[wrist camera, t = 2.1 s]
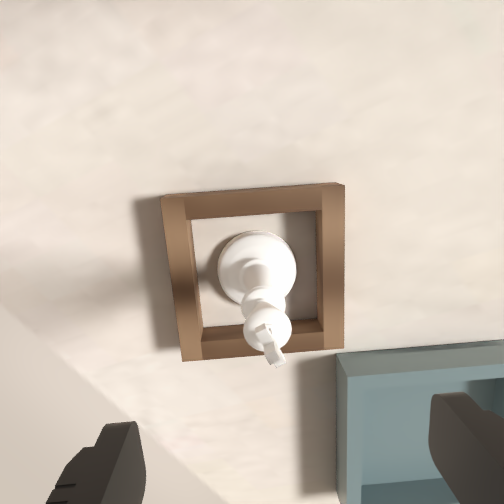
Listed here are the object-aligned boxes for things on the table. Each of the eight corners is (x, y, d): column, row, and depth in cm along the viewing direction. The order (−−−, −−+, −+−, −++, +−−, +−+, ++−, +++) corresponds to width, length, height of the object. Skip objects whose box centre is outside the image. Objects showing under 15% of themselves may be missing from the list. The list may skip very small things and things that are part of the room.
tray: (336, 353, 24) (347, 377, 22) (509, 339, 25) (539, 360, 22) (336, 490, 28) (346, 524, 25) (488, 476, 28) (513, 508, 26)
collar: (166, 194, 21) (160, 198, 19) (335, 182, 21) (344, 185, 20) (186, 346, 24) (182, 361, 22) (336, 334, 24) (343, 348, 22)
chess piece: (240, 317, 23) (244, 434, 14) (202, 253, 22) (177, 334, 13) (308, 283, 23) (361, 379, 13) (274, 216, 22) (304, 269, 12)
